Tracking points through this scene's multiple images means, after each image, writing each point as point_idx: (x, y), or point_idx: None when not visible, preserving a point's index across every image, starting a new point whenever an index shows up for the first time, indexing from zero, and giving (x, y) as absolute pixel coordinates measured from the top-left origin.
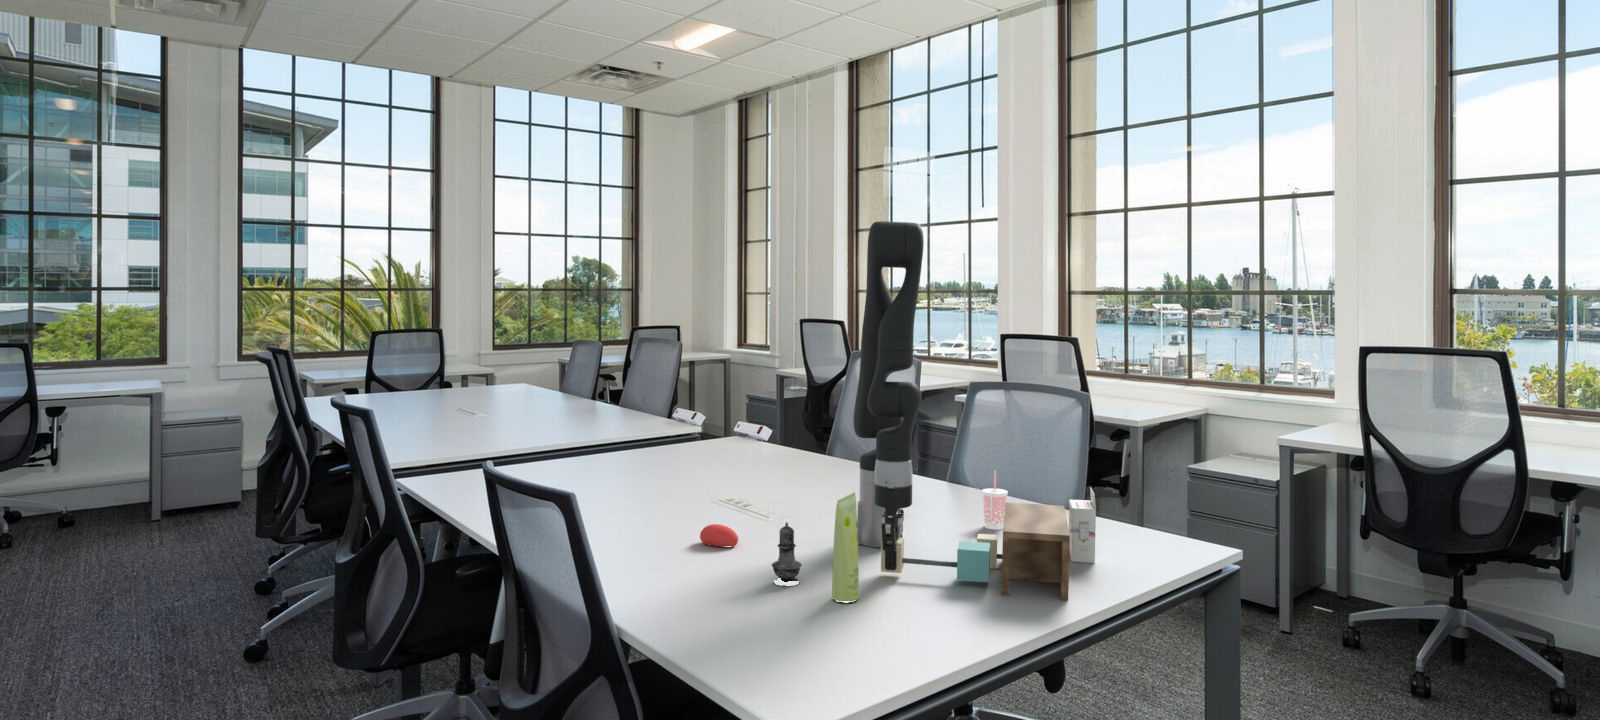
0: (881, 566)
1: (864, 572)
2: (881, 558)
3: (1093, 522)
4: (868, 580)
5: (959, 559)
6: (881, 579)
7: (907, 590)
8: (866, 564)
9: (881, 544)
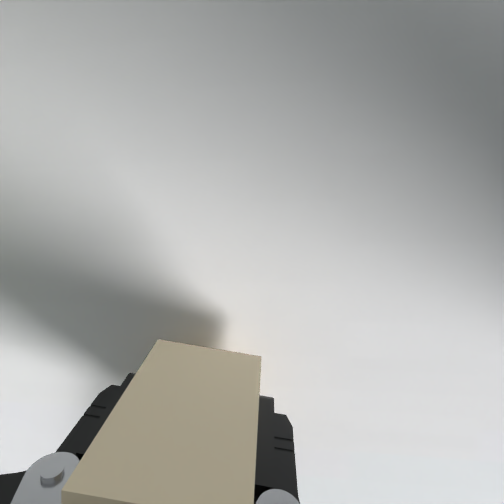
0: (148, 357)
1: (258, 247)
2: (129, 387)
3: None
4: (134, 266)
5: None
6: (160, 324)
7: (41, 415)
8: (401, 256)
9: (76, 470)
